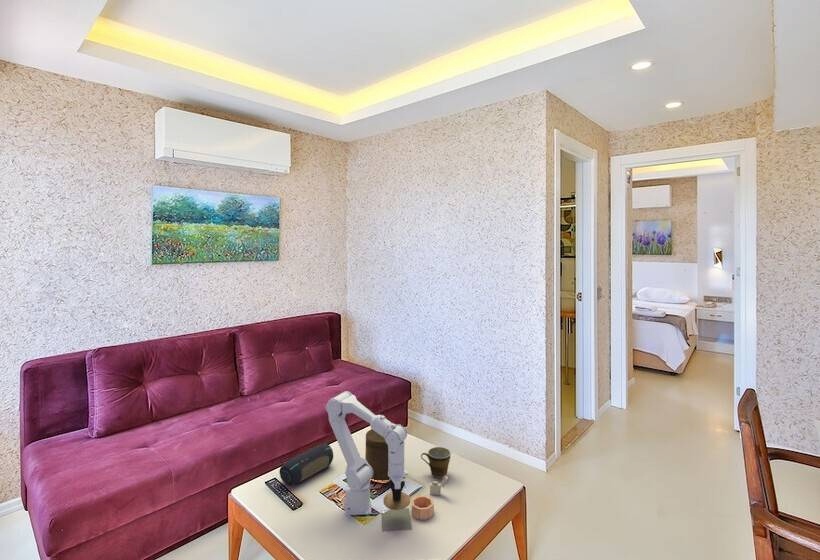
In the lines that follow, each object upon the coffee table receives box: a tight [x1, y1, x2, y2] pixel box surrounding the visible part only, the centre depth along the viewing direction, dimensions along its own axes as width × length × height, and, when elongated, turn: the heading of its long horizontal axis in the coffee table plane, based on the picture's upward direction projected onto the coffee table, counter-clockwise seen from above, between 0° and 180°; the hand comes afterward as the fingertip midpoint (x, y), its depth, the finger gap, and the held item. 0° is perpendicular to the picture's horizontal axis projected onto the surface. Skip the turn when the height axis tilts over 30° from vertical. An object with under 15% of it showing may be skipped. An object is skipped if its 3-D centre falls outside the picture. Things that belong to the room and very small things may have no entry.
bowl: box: [410, 495, 435, 520], centre depth 156 cm, size 8×8×4 cm
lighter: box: [429, 475, 449, 496], centre depth 168 cm, size 7×2×8 cm, turn 81°
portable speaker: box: [279, 443, 334, 486], centre depth 182 cm, size 25×10×10 cm, turn 144°
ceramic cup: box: [420, 446, 452, 479], centre depth 182 cm, size 13×10×10 cm
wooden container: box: [364, 428, 389, 481], centre depth 182 cm, size 15×15×22 cm
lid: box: [383, 491, 411, 510], centre depth 152 cm, size 10×10×5 cm
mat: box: [380, 507, 413, 532], centre depth 152 cm, size 10×12×1 cm
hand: (396, 496), depth 152 cm, fingers closed on lid, 3 cm apart
